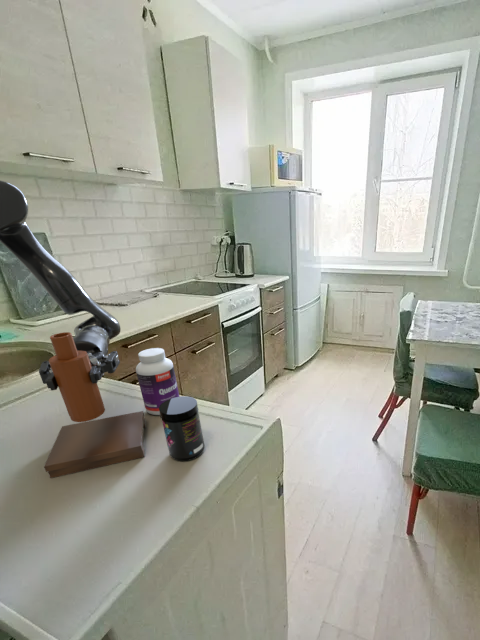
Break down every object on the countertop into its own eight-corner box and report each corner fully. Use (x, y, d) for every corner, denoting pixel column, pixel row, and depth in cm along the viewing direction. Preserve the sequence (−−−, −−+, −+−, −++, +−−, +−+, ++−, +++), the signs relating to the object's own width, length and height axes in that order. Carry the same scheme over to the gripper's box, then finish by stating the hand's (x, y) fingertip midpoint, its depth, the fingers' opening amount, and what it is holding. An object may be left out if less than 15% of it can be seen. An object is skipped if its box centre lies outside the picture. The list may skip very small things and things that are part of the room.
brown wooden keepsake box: (49, 479, 63) (43, 466, 61) (66, 438, 75) (61, 426, 73) (144, 458, 67) (140, 445, 66) (146, 422, 79) (143, 410, 78)
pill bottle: (167, 419, 80) (153, 360, 73) (138, 414, 82) (123, 357, 76) (188, 402, 87) (177, 347, 80) (161, 398, 89) (148, 344, 83)
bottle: (67, 425, 65) (36, 343, 58) (74, 409, 70) (45, 332, 63) (103, 418, 67) (76, 337, 59) (106, 403, 72) (82, 328, 65)
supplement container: (184, 439, 72) (175, 394, 68) (212, 445, 70) (204, 399, 65) (162, 458, 67) (150, 411, 62) (191, 466, 64) (181, 417, 60)
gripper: (44, 339, 73) (18, 369, 59) (118, 330, 77) (110, 356, 63) (56, 372, 77) (34, 408, 62) (127, 361, 81) (121, 393, 66)
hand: (72, 381), depth 63 cm, fingers closed on bottle, 6 cm apart
